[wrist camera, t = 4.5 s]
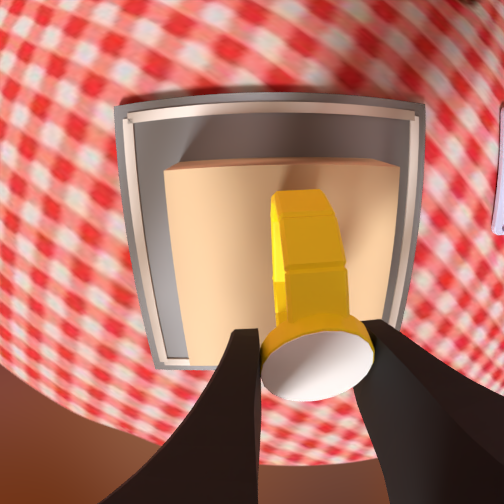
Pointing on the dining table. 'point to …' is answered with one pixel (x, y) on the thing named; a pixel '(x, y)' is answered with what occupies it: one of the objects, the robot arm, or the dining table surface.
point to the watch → (311, 304)
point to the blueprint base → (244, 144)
